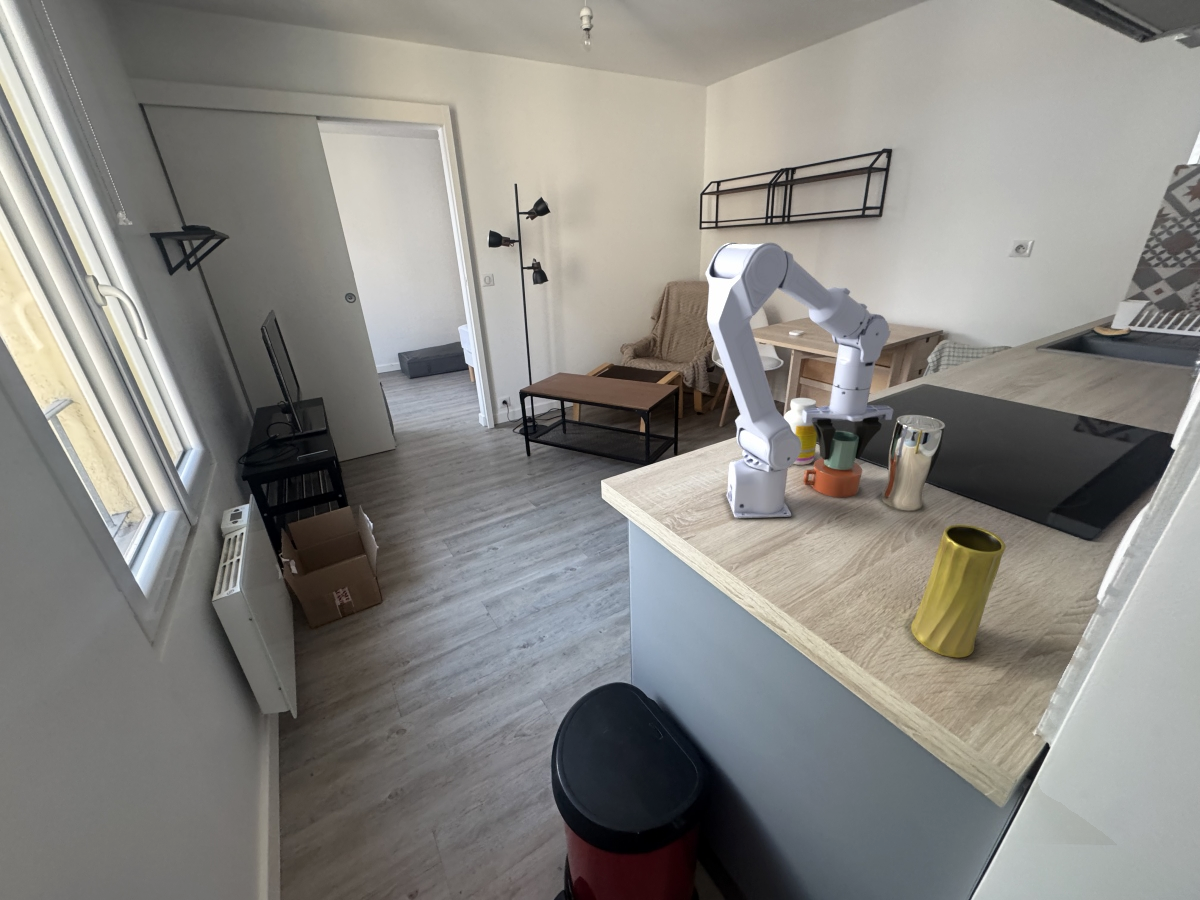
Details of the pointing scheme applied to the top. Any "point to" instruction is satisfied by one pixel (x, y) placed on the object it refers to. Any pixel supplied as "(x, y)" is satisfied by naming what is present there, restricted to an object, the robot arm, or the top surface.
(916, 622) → the vase
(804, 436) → the supplement bottle
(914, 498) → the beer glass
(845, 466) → the green faceted cup
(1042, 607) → the top surface
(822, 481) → the mug
